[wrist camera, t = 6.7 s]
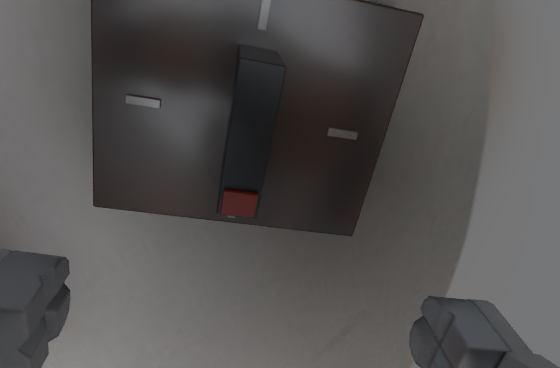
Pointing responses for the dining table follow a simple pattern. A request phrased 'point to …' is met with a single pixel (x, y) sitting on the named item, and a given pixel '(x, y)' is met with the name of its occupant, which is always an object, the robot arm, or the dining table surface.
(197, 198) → the panel
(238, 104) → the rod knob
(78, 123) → the dining table surface
